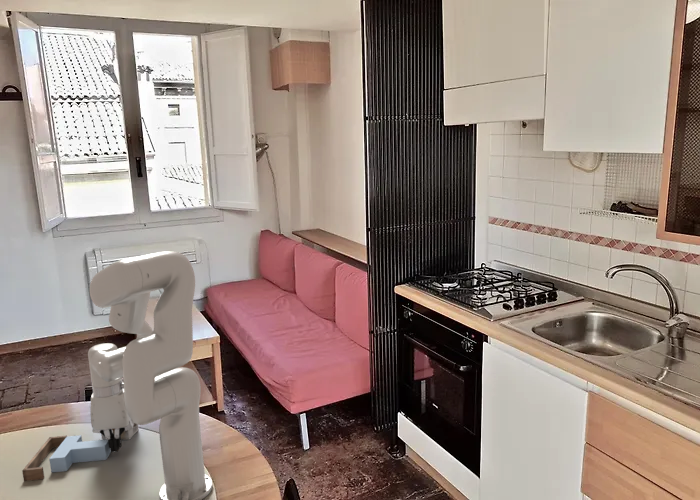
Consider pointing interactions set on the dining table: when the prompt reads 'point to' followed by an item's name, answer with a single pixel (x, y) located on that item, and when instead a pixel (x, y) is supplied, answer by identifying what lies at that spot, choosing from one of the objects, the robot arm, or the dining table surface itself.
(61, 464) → the t block
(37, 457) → the wooden u-shaped bracket
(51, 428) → the dining table surface
